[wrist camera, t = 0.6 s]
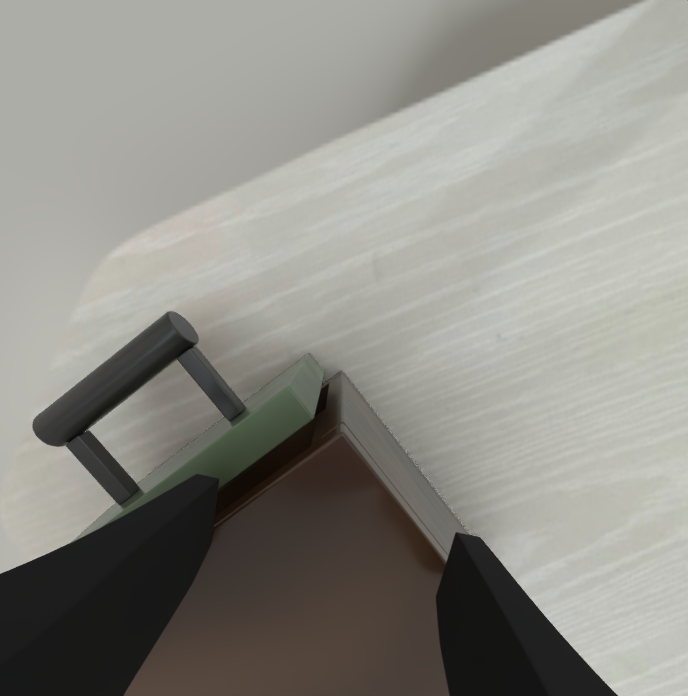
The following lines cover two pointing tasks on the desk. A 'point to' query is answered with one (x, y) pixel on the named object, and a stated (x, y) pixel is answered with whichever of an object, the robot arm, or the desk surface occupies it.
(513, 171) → the desk surface
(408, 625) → the cabinet
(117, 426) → the desk surface
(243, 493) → the drawer
